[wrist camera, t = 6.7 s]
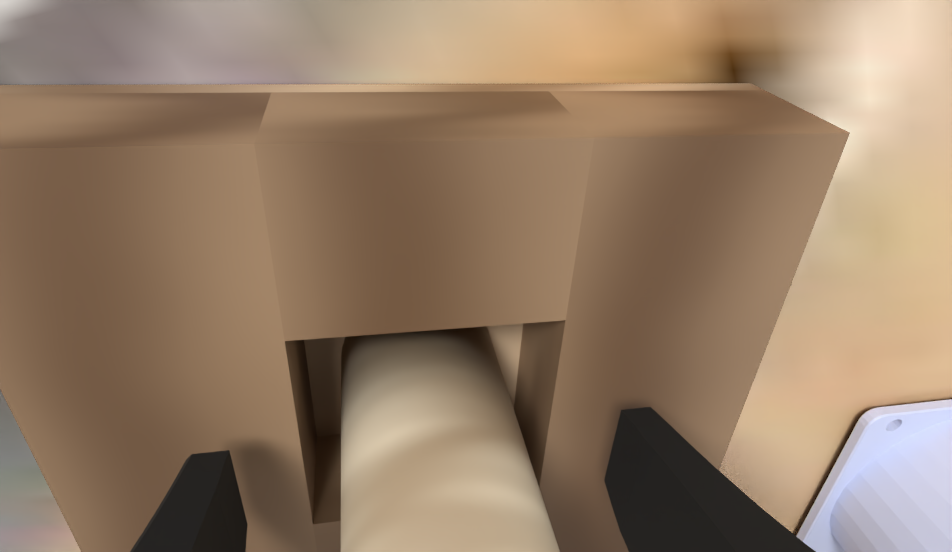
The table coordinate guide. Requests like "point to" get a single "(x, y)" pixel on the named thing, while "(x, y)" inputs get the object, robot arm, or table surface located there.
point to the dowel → (434, 449)
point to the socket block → (383, 275)
